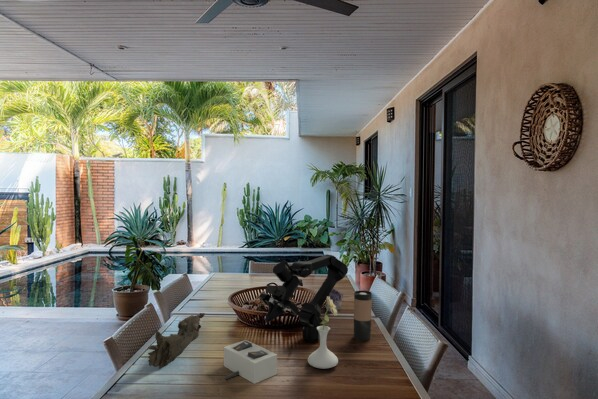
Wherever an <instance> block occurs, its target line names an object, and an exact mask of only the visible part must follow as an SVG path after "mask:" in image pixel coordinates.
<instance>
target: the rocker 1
mask: <svg viewBox="0 0 598 399" xmlns="http://www.w3.org/2000/svg"><path fill="white" fill-rule="evenodd" d="M243 341H244V340H243ZM248 341H249V340H247V341H244V342H242V343H241V344H239V345H237V346H235V347H234V348H233V349H234V350H236V351H241V350H244V349H247V348H249V347H251V346H252V343H253V342H251V341H249V342H248ZM250 342H251V343H250Z"/></svg>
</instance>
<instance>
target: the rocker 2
mask: <svg viewBox="0 0 598 399" xmlns="http://www.w3.org/2000/svg"><path fill="white" fill-rule="evenodd" d="M265 355H268V354H266V353H264V352H262V351H256V352H248V356H250V357H252V358H260V357H262V356H265Z"/></svg>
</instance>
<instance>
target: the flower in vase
mask: <svg viewBox="0 0 598 399" xmlns="http://www.w3.org/2000/svg"><path fill="white" fill-rule="evenodd" d="M327 302H328V305H329V307H328V309H329V308H330V310H331V312H332V314H333V316H338V314H339V311H338V312H337V310H336V309H335V308H336V306H335V305H334V303H333V300H332V299H331V300H330V297H329V298H328V296H327ZM328 309H326V312H325V313H324V317H323V320H322V322H321V323H320V324H323V326H318V327H317V330H318V331H319V347H318V348H317V349H316V350H314V351H313V352H312V353H310V355H309V356H308V358H307V363H308V364H309V365H310V366H311V367H314V368H317V369H323V370H325V369H330V368H331V369H332V368H334V367H335V366H337V365H338V363H339V359H338V357H337V356H336V354H335V353H334V352H332V351H331V350H329V349H328V347H327V337H328V333H329V331H330V330H331V327H329V326H328V325H327V326H326V325H325V324H327V323H328V322H329V320H330V318H329V315H327V313H328V312H327V311H328ZM331 312H330V313H331Z"/></svg>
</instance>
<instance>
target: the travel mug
mask: <svg viewBox="0 0 598 399" xmlns="http://www.w3.org/2000/svg"><path fill="white" fill-rule="evenodd" d="M353 294H354V295H353V296H354V298H353V301H354V302H353V338H354V340H357V341H362V342H365V341H369V340H371V332H372V329H371V328H372V304H373V303H372V291H368V290H356V291H354V293H353Z"/></svg>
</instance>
